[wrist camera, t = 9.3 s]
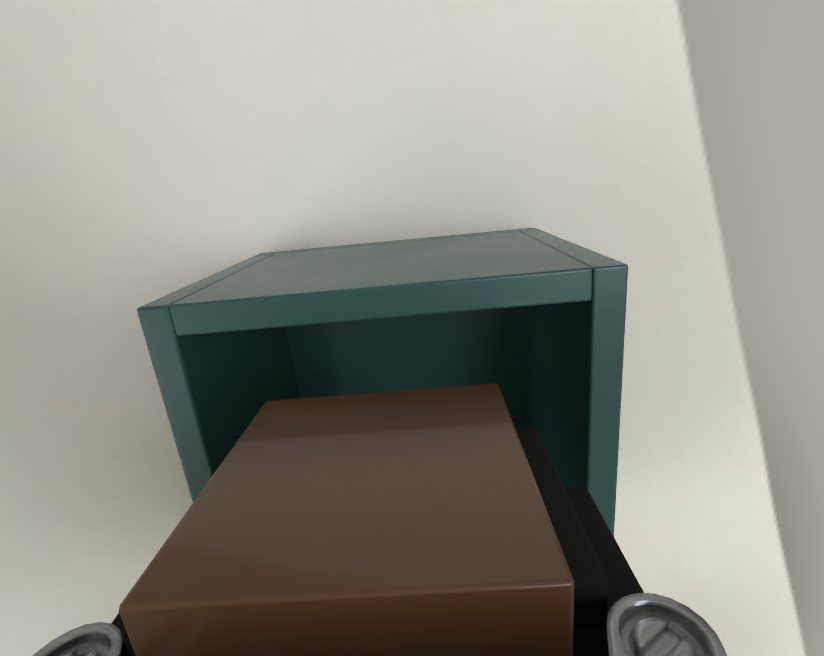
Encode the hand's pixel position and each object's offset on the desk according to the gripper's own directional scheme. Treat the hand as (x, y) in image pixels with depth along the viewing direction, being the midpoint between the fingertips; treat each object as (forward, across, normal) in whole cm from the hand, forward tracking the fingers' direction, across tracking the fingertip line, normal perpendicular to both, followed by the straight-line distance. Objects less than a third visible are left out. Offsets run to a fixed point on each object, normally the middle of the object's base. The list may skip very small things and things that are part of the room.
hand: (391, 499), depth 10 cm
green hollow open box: (+11, 0, +2) cm, 11 cm away
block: (0, 0, 0) cm, 0 cm away
